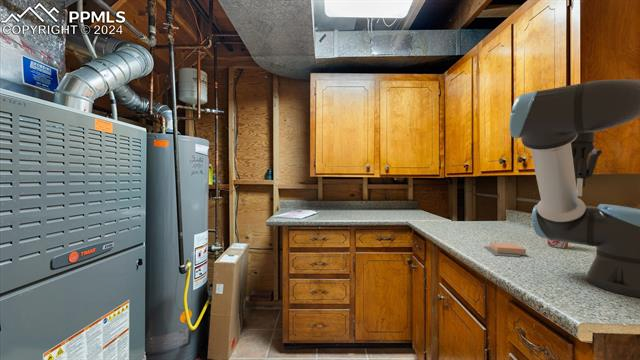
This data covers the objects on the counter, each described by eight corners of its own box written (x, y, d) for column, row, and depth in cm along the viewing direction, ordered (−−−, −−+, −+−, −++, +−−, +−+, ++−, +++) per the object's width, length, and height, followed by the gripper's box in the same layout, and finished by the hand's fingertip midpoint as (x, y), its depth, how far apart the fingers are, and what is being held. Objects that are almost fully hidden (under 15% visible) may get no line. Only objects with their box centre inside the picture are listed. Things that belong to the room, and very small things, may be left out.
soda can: (569, 250, 116) (570, 222, 115) (547, 247, 120) (548, 220, 120) (567, 246, 122) (568, 219, 121) (546, 243, 126) (547, 217, 125)
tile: (525, 249, 107) (497, 247, 109) (525, 255, 107) (497, 253, 109) (516, 243, 115) (489, 242, 117) (515, 249, 115) (489, 247, 117)
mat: (521, 257, 106) (521, 256, 105) (495, 255, 107) (495, 254, 107) (507, 248, 117) (507, 247, 117) (483, 247, 119) (483, 246, 119)
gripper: (593, 132, 102) (590, 195, 103) (552, 133, 105) (550, 194, 106) (609, 130, 95) (606, 197, 96) (565, 130, 98) (563, 196, 99)
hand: (577, 195), depth 101 cm, fingers closed
